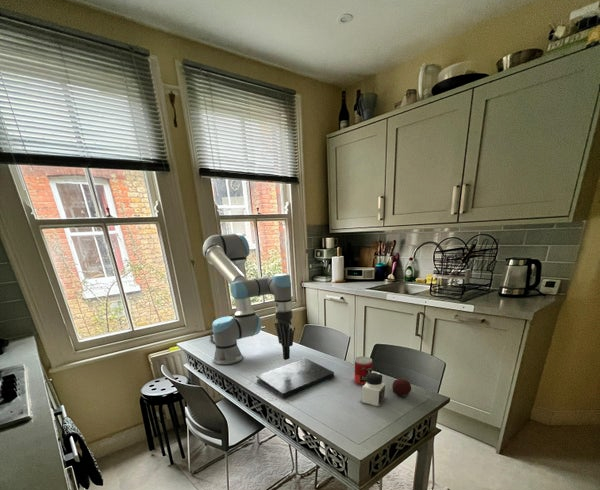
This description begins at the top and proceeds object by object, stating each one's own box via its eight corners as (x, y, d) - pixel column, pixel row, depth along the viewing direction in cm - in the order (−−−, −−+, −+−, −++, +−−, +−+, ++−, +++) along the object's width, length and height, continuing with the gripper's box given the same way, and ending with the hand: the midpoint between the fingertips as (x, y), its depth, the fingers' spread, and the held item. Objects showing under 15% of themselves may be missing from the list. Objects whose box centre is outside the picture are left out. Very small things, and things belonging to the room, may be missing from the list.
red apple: (389, 390, 136) (390, 376, 133) (407, 390, 135) (409, 375, 132) (393, 399, 129) (395, 384, 126) (413, 399, 129) (414, 383, 126)
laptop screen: (256, 377, 147) (256, 375, 147) (305, 359, 164) (305, 357, 164) (283, 395, 133) (283, 393, 132) (334, 373, 149) (334, 372, 149)
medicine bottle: (378, 406, 124) (380, 379, 120) (361, 402, 128) (362, 375, 123) (384, 398, 130) (386, 372, 125) (367, 394, 133) (369, 369, 129)
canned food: (361, 387, 140) (362, 364, 135) (350, 380, 146) (351, 358, 142) (375, 383, 143) (376, 360, 138) (364, 376, 149) (364, 355, 145)
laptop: (257, 383, 148) (256, 379, 148) (305, 364, 165) (305, 361, 165) (283, 399, 133) (283, 395, 133) (334, 377, 150) (334, 373, 149)
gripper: (268, 309, 143) (272, 357, 153) (285, 314, 134) (288, 365, 143) (281, 306, 147) (284, 353, 157) (299, 311, 138) (301, 360, 148)
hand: (286, 358), depth 150 cm, fingers closed
